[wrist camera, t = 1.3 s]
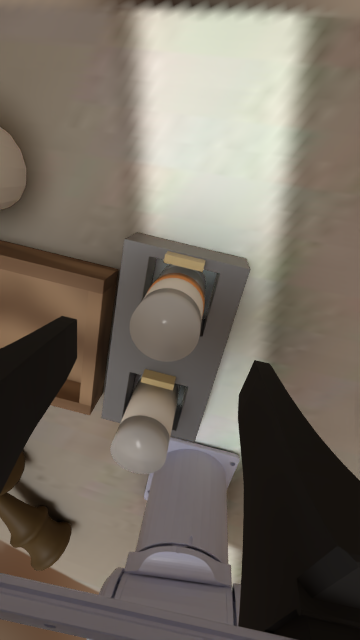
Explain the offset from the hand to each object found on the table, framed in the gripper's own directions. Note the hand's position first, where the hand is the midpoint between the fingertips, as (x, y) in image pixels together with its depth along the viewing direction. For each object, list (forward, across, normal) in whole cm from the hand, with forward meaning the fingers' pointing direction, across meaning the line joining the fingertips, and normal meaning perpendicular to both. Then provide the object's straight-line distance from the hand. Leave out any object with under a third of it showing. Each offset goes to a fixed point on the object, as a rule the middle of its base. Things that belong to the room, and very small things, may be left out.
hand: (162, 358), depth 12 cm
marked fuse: (+11, 0, +2) cm, 11 cm away
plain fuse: (+10, 0, +11) cm, 15 cm away
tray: (+10, +11, +8) cm, 17 cm away
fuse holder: (+10, 0, +6) cm, 12 cm away
